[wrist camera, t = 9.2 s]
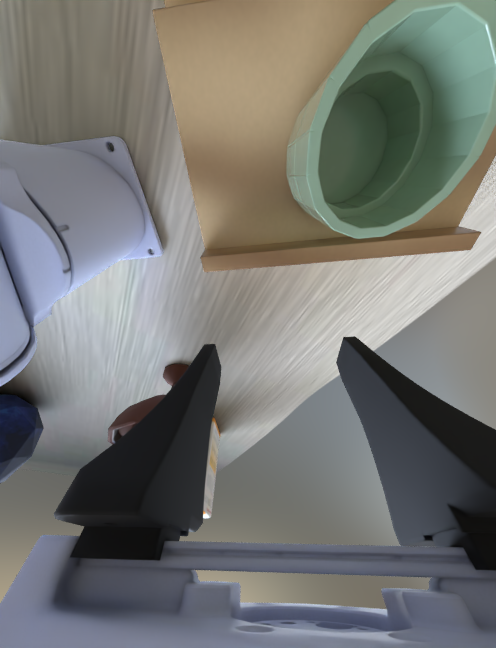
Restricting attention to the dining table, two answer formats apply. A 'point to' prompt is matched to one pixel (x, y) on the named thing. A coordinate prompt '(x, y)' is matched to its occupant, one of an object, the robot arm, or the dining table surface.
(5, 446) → the decorative orb
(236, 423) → the dining table surface
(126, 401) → the dining table surface
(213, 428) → the supplement box
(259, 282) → the dining table surface
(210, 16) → the shelf
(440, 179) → the green cup
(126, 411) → the ice cream bowl
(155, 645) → the robot arm
